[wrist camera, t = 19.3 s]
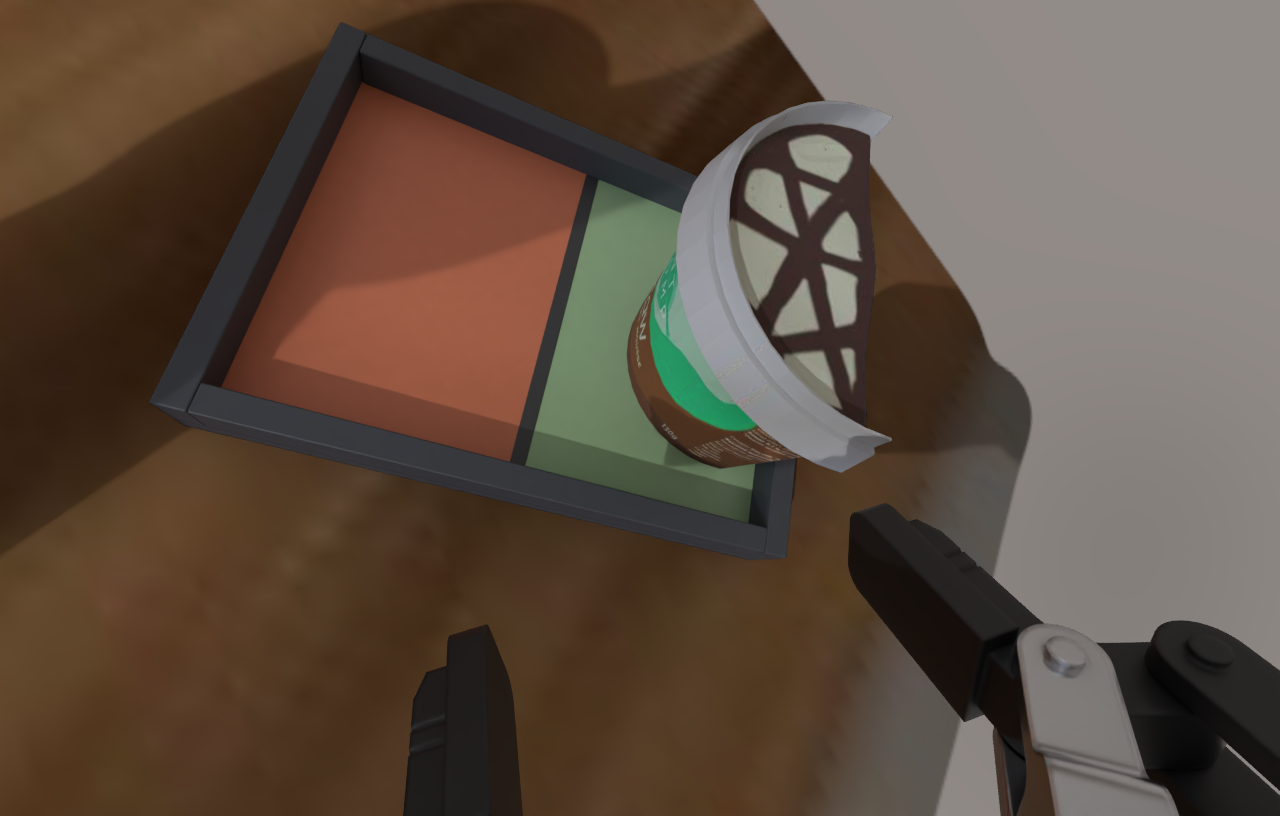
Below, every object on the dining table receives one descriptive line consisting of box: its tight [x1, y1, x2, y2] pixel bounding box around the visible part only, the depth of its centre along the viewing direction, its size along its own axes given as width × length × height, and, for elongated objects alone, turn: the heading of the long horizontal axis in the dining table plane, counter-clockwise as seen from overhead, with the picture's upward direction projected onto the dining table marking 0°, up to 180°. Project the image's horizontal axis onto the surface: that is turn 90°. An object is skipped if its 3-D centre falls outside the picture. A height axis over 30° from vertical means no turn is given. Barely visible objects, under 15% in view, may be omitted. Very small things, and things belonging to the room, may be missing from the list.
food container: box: [627, 101, 893, 472], centre depth 21 cm, size 12×6×10 cm, turn 171°
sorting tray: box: [150, 22, 796, 560], centre depth 24 cm, size 22×16×3 cm
